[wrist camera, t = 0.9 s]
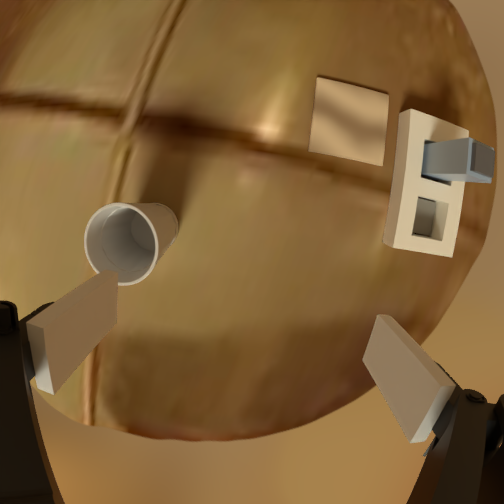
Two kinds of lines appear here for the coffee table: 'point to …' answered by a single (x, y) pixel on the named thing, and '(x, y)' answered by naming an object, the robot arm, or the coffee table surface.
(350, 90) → the pad
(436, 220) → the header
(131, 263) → the cup
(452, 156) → the plug
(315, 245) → the coffee table surface
